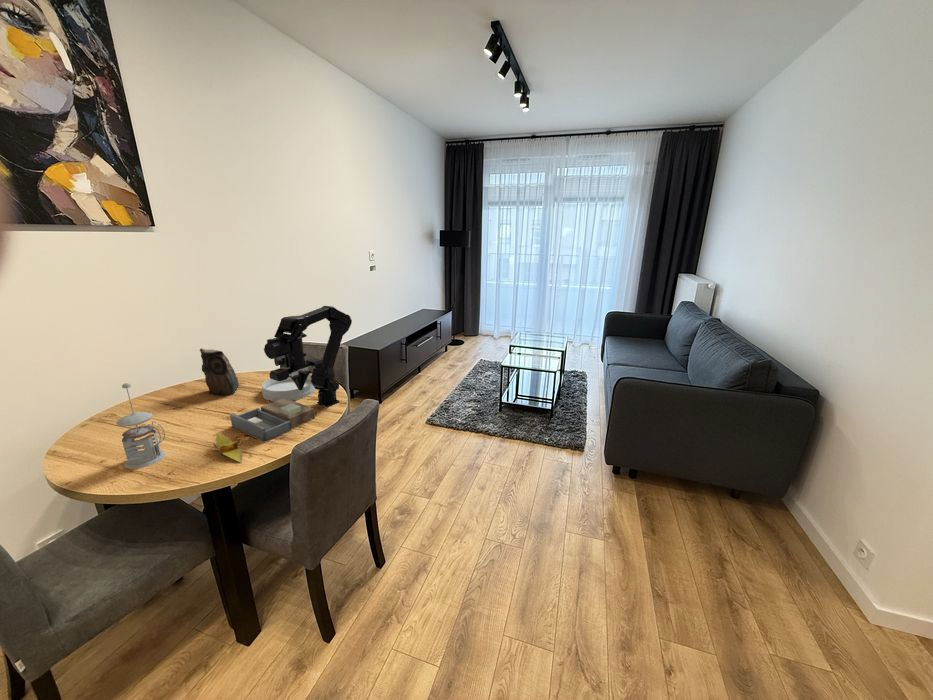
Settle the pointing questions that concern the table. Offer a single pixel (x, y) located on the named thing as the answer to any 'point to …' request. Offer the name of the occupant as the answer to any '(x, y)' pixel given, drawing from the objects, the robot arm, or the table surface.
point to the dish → (286, 389)
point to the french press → (129, 443)
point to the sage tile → (290, 409)
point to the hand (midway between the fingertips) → (300, 390)
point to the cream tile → (256, 421)
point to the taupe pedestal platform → (295, 419)
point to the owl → (218, 373)
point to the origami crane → (229, 447)
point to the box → (264, 433)
